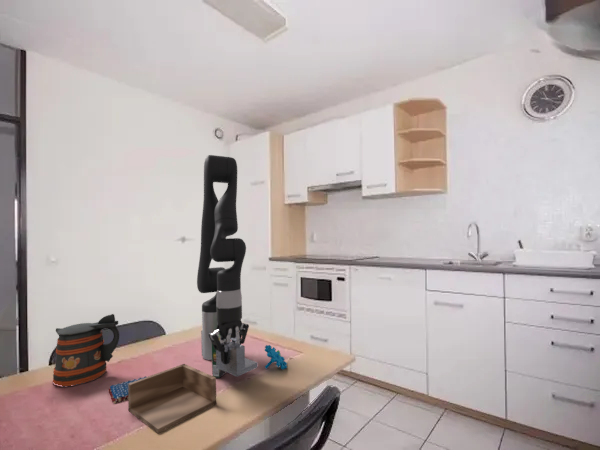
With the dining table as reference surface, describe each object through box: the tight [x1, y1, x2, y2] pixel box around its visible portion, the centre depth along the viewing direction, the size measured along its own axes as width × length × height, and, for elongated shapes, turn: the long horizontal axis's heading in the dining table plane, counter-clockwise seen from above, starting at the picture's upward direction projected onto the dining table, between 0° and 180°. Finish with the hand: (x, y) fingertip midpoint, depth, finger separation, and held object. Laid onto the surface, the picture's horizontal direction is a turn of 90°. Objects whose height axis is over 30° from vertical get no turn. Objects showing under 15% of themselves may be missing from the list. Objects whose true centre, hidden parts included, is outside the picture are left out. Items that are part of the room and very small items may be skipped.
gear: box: [264, 344, 288, 370], centre depth 108 cm, size 11×6×10 cm
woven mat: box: [108, 376, 147, 404], centre depth 94 cm, size 10×11×2 cm
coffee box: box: [211, 334, 231, 379], centre depth 105 cm, size 8×3×13 cm, turn 162°
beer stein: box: [52, 313, 120, 386], centre depth 106 cm, size 19×15×20 cm
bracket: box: [216, 341, 259, 378], centre depth 98 cm, size 10×8×8 cm
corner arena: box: [127, 363, 217, 434], centre depth 85 cm, size 16×16×7 cm
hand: (230, 361), depth 96 cm, fingers closed on bracket, 3 cm apart
